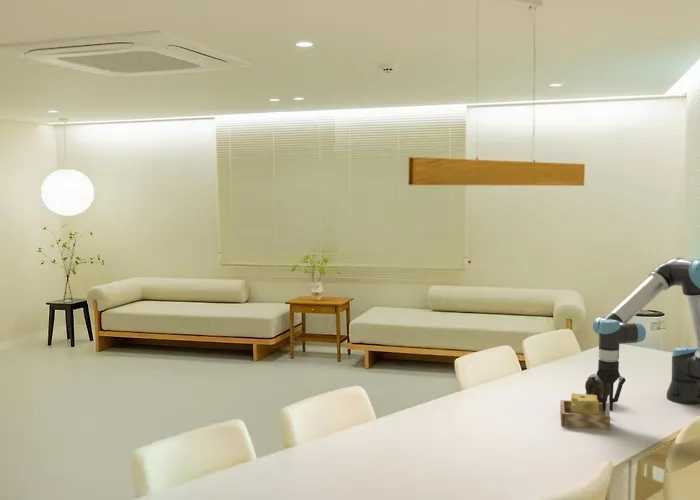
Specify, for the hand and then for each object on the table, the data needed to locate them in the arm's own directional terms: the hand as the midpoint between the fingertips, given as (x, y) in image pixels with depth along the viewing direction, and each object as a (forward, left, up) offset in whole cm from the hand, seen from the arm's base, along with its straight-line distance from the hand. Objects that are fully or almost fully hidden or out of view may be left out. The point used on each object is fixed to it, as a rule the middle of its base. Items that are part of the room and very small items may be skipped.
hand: (607, 418), depth 276 cm
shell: (+1, -29, -2) cm, 29 cm away
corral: (+8, 0, -2) cm, 8 cm away
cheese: (+9, +1, -2) cm, 9 cm away
